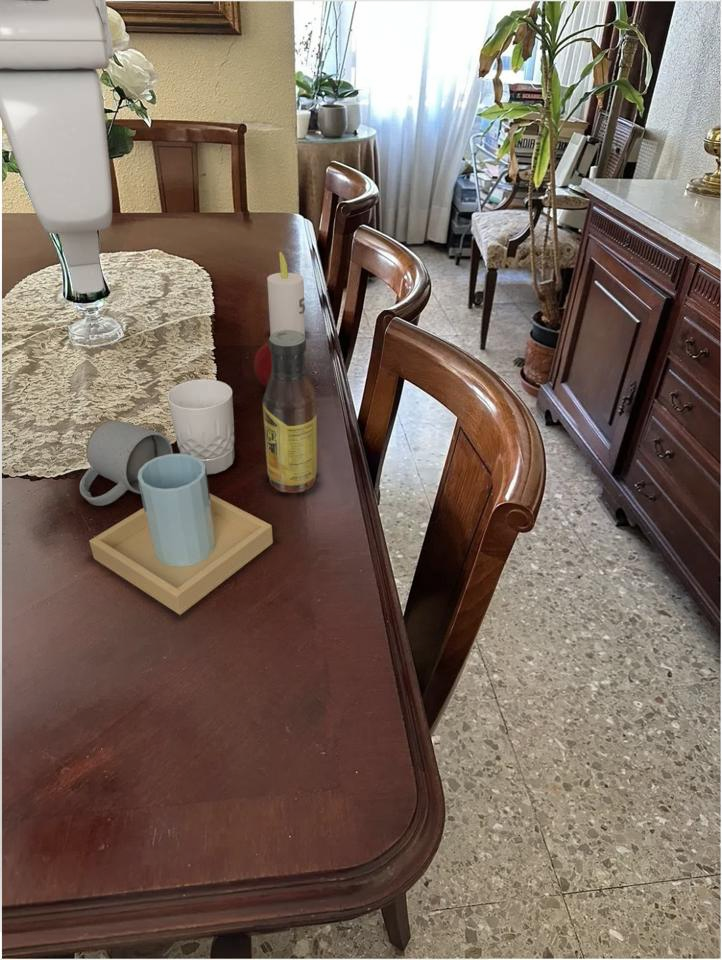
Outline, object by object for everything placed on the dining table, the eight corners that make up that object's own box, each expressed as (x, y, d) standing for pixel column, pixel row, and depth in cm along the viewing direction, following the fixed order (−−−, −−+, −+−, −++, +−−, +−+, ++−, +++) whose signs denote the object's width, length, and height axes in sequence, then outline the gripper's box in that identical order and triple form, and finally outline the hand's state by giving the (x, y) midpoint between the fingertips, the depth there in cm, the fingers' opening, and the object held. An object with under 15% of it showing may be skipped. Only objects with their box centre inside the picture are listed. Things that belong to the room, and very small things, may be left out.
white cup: (233, 478, 84) (226, 409, 78) (171, 477, 84) (159, 408, 78) (243, 445, 90) (237, 379, 85) (185, 444, 90) (175, 378, 85)
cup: (182, 575, 69) (168, 499, 63) (140, 550, 72) (123, 474, 66) (228, 542, 73) (219, 468, 67) (187, 519, 76) (174, 446, 70)
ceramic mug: (133, 455, 88) (121, 404, 83) (178, 474, 84) (169, 423, 80) (66, 496, 80) (50, 443, 76) (113, 519, 77) (98, 465, 72)
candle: (294, 344, 118) (291, 260, 109) (263, 337, 120) (258, 254, 112) (312, 332, 123) (310, 250, 114) (281, 325, 125) (278, 244, 116)
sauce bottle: (267, 469, 86) (257, 323, 74) (316, 467, 87) (313, 322, 75) (268, 499, 81) (257, 348, 69) (319, 496, 81) (317, 346, 70)
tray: (180, 615, 65) (176, 596, 63) (93, 558, 71) (88, 540, 70) (273, 543, 74) (271, 525, 73) (189, 498, 80) (186, 481, 79)
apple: (255, 402, 100) (251, 354, 96) (255, 378, 107) (252, 331, 102) (305, 400, 101) (304, 352, 97) (302, 376, 108) (301, 330, 103)
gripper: (-31, 17, 44) (26, 232, 52) (-43, 25, 29) (39, 327, 37) (70, 18, 46) (110, 225, 54) (108, 27, 31) (155, 312, 39)
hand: (81, 267), depth 45 cm, fingers open, 8 cm apart
